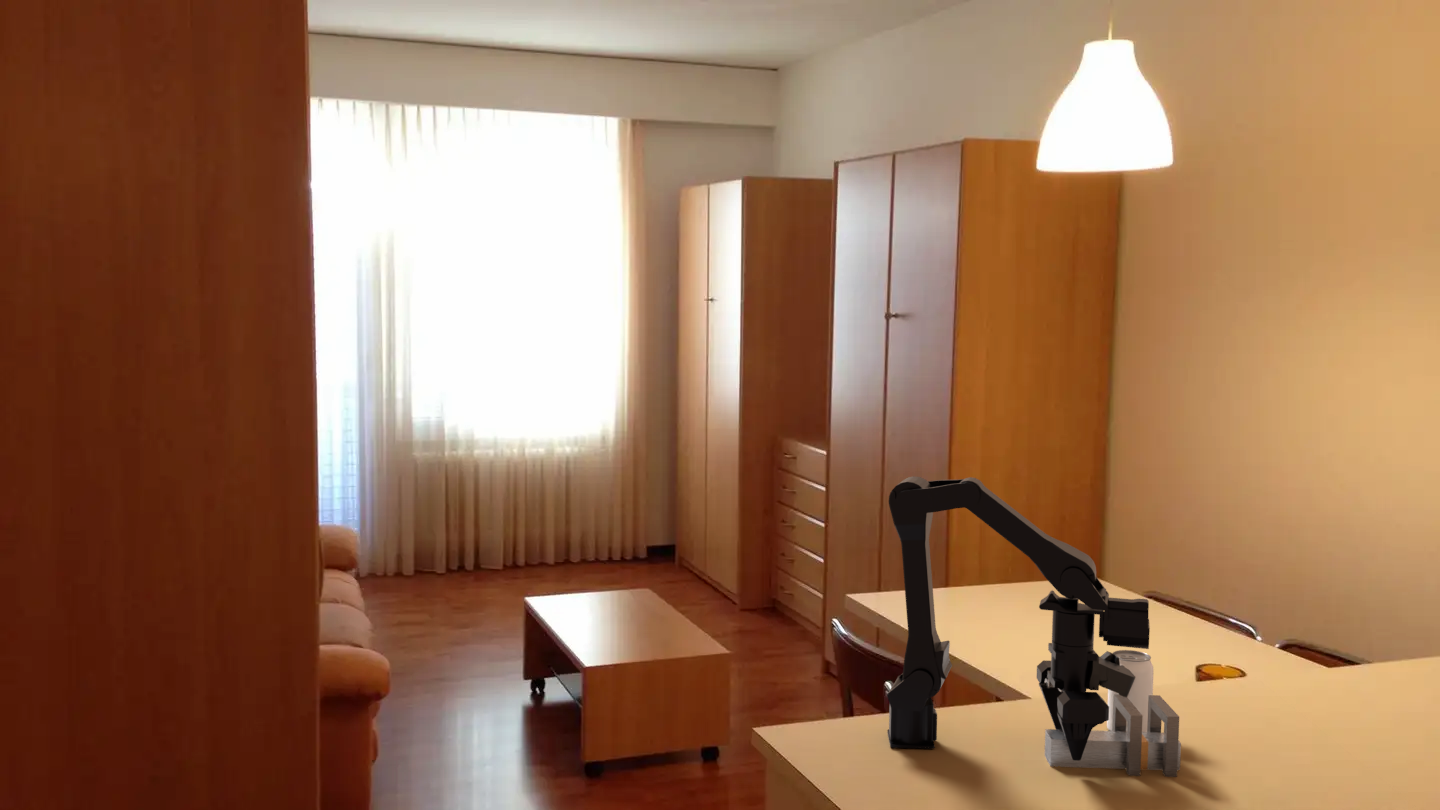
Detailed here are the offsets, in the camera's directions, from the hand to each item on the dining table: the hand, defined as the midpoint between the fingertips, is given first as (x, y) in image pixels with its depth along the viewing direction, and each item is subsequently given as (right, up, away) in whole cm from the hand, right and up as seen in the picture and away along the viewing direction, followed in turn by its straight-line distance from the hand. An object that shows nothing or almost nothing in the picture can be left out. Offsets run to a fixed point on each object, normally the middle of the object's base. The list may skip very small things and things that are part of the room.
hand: (1068, 747), depth 170 cm
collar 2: (+13, -2, -1) cm, 13 cm away
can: (+13, -1, +12) cm, 18 cm away
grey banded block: (+6, -2, 0) cm, 6 cm away
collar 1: (+8, -2, 0) cm, 8 cm away
